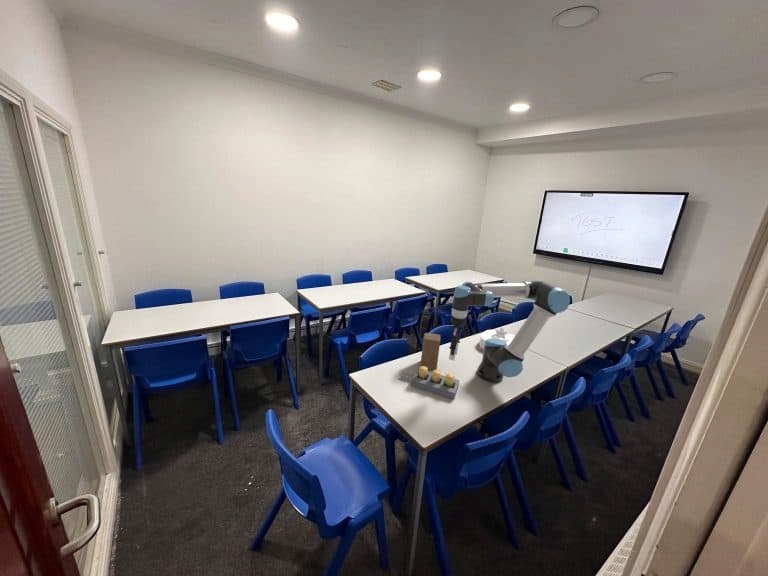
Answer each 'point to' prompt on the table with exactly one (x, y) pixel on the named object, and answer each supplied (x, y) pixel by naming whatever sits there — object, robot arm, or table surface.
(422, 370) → the button
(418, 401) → the table surface
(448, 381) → the button
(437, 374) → the button
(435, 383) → the button board
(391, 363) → the table surface
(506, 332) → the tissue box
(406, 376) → the pattern tile
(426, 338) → the wooden block
